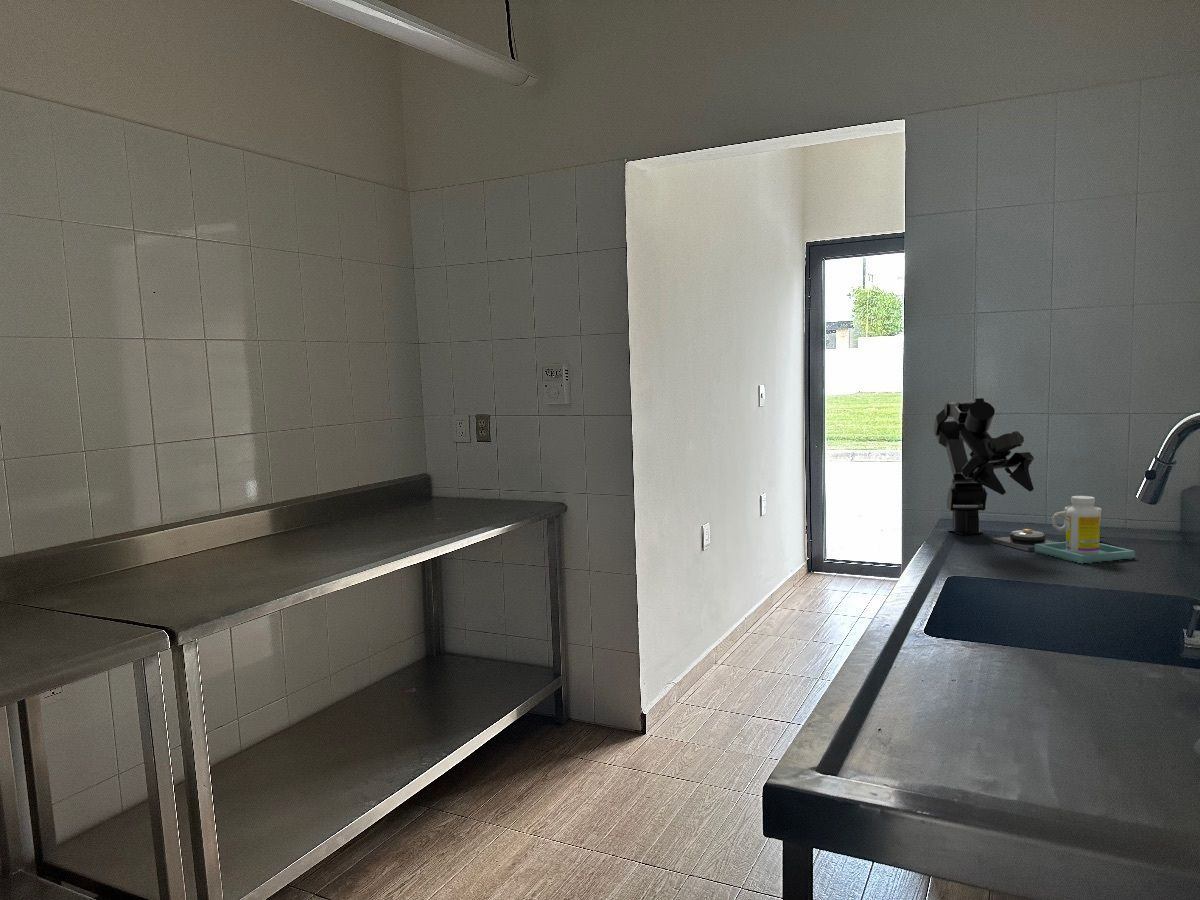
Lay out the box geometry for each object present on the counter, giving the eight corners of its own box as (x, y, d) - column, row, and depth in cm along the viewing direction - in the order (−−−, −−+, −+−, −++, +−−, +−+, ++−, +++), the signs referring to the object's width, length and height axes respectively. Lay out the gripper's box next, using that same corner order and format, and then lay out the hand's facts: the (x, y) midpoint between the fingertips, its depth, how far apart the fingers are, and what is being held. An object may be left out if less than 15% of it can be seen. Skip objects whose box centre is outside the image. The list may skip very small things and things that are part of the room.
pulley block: (992, 542, 211) (992, 527, 211) (1027, 539, 213) (1027, 524, 213) (1027, 551, 199) (1028, 535, 199) (1063, 548, 202) (1064, 532, 201)
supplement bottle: (1105, 553, 192) (1106, 497, 191) (1087, 557, 189) (1088, 500, 188) (1077, 548, 198) (1078, 494, 197) (1059, 552, 195) (1059, 496, 194)
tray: (1034, 551, 198) (1034, 544, 198) (1084, 547, 202) (1084, 539, 202) (1081, 564, 185) (1082, 556, 185) (1134, 558, 188) (1135, 550, 188)
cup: (1055, 542, 209) (1055, 510, 208) (1048, 536, 216) (1048, 505, 215) (1105, 543, 205) (1105, 510, 205) (1096, 537, 213) (1096, 505, 212)
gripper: (971, 422, 201) (1010, 473, 192) (1027, 418, 209) (1067, 467, 200) (945, 453, 209) (981, 503, 200) (1000, 448, 217) (1038, 496, 207)
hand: (1018, 492), depth 202 cm, fingers open, 9 cm apart
